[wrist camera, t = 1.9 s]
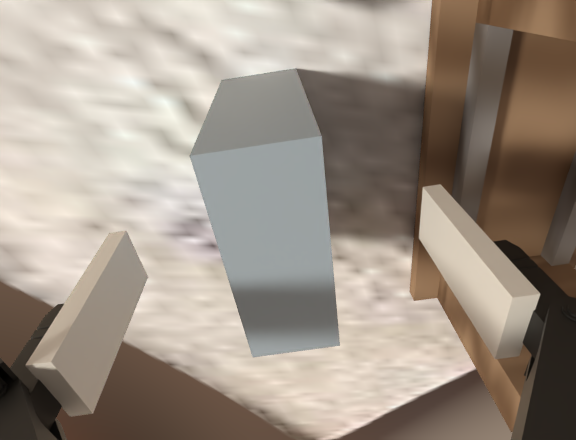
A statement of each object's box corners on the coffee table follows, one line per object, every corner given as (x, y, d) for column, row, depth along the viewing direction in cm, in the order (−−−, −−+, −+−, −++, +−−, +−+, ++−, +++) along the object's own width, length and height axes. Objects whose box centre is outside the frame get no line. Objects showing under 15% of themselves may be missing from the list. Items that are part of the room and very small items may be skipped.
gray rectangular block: (221, 79, 19) (189, 155, 11) (296, 68, 19) (321, 136, 11) (256, 230, 25) (252, 357, 16) (313, 222, 24) (339, 345, 16)
